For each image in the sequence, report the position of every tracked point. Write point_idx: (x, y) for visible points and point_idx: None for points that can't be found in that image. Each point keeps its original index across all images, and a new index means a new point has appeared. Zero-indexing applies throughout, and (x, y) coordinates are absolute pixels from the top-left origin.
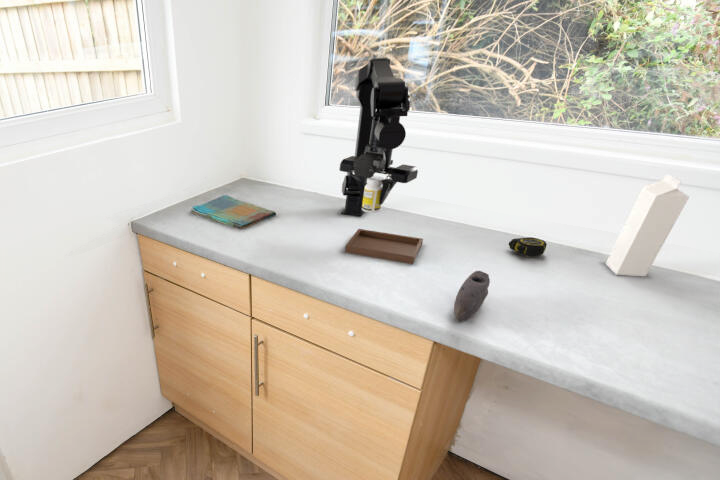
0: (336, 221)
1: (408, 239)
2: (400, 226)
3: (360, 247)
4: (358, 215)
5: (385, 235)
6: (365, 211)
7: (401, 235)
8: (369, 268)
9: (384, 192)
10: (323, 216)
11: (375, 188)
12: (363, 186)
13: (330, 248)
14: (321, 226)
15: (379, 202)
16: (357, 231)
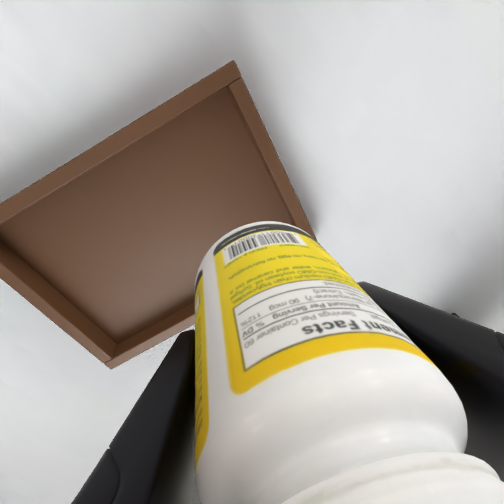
0: (437, 266)
1: (147, 335)
2: None
3: (166, 103)
4: None
5: None
6: (256, 222)
7: (175, 332)
8: (4, 9)
9: (106, 465)
10: (493, 259)
11: (240, 449)
12: (473, 382)
13: (304, 43)
14: (459, 193)
15: (190, 339)
16: (308, 231)
